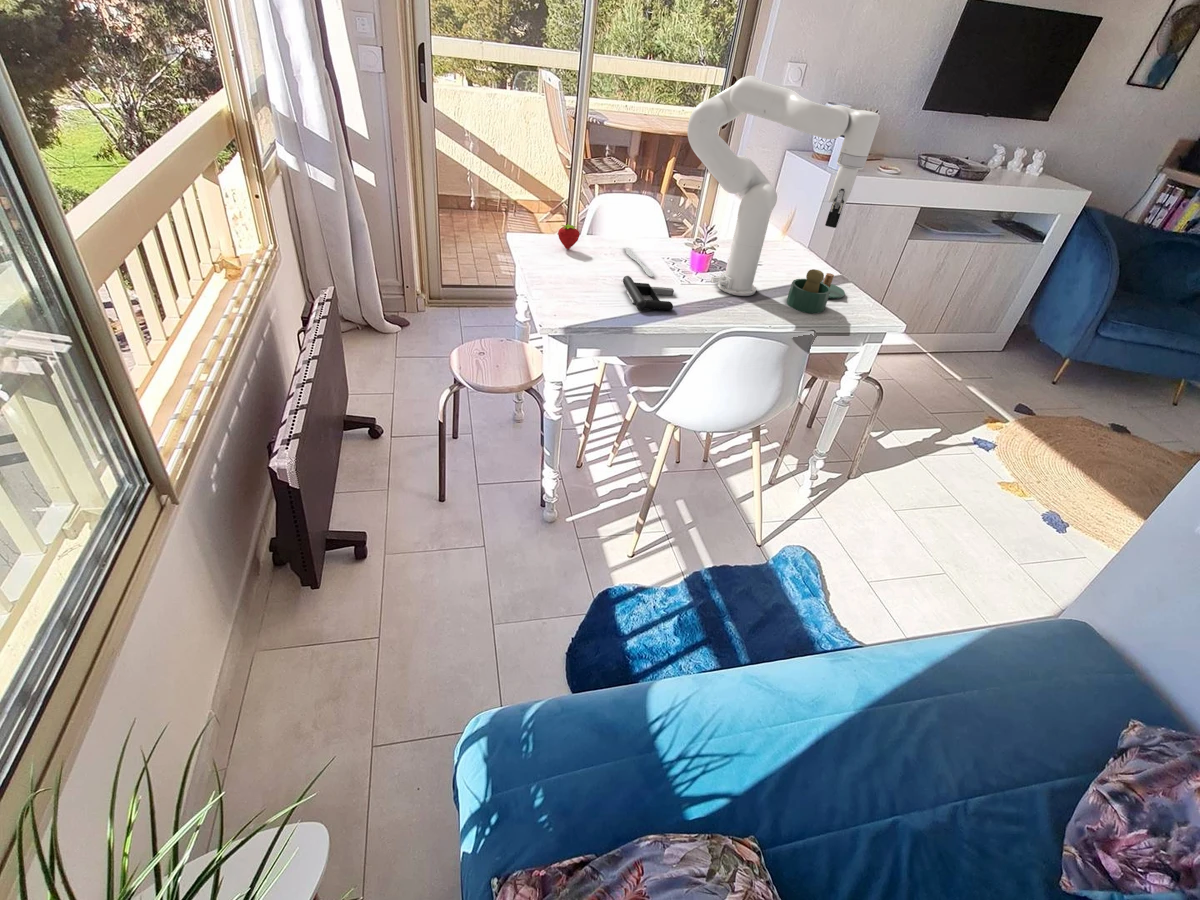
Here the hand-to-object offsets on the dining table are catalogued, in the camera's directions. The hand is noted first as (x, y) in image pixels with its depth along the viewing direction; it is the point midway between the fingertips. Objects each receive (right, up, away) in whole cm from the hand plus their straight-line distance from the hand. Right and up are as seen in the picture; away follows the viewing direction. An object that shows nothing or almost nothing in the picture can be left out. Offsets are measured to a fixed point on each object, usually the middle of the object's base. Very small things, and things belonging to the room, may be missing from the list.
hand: (831, 222), depth 185 cm
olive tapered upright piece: (-3, -21, +15) cm, 26 cm away
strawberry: (-80, +3, +34) cm, 87 cm away
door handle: (-53, -21, +7) cm, 58 cm away
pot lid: (+7, -13, +27) cm, 31 cm away
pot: (-3, -21, +16) cm, 26 cm away
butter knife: (-56, -3, +31) cm, 64 cm away
